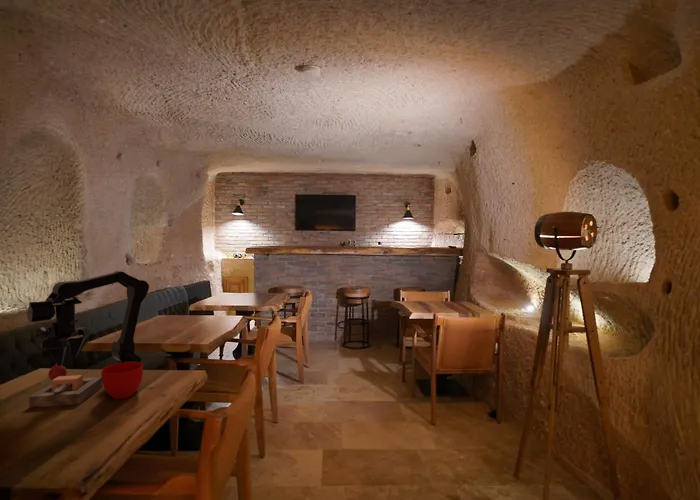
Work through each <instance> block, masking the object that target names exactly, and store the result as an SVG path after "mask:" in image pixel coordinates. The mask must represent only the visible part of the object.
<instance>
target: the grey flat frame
mask: <svg viewBox="0 0 700 500" xmlns="http://www.w3.org/2000/svg"><path fill="white" fill-rule="evenodd" d="M102 387H103V382H102V376H98V377H83V386H82V387H81V388H79V389H78V390H77V391H72V384H71V385H70V386H68V387H67V388H65V389H64V392H59V393H58V394H54V393H53V392H52V382H51V383H50V384H47V385H46V386H45V387H43V388H41V389H39V390H38V391H36V392H35V393H33V394H31V395H29V396H28V404H29V407H28V408H41V407H42V408H44V407H45V408H46V407H58V406H72V405H75V406H76V405H81V404H82V403H83V402H84V401H86V400H87V399H88V398H89V397H91V396H92V395H93V394H95V393H96V392H98V391H99V390H100V389H101V388H102Z"/></svg>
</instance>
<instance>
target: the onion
mask: <svg viewBox="0 0 700 500" xmlns="http://www.w3.org/2000/svg"><path fill="white" fill-rule="evenodd" d="M58 376H68V370H67V368H66V367H65V366H64V365H63V364H62V365H61V366H57V363H56V362H55V365H53V366H52V367H51V368H50V369H49V370H48V376H47V377H48V379H49V380H50V381H52V380H53V379H55V378H57V377H58Z"/></svg>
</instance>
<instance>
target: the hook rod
mask: <svg viewBox="0 0 700 500" xmlns="http://www.w3.org/2000/svg"><path fill="white" fill-rule="evenodd" d="M70 385H71V384H63V385H61V386H60V387H58V388H57V389H55V390H54V391H53V393H54V394H58V393H59V392H61V391H62V390H64V389H65V388H67V387H68V386H70Z"/></svg>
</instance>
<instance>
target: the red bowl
mask: <svg viewBox="0 0 700 500" xmlns="http://www.w3.org/2000/svg"><path fill="white" fill-rule="evenodd" d="M100 372H101V373H100V377H102V387H103V388H104V390H105V391H106V393H107V394H108V395H109V396H111V397H112V398H113V399H115V400H116V399H117V400H120V399H126V398H129V397H132V396H133V395H134V394H135V392H137V390H138V389H139V387H140V385H141V383H142V381H143V380H142V379H143V374H144V364H143V363H142V362H123V363H118V362H117V363H114V364H110V365H107V366H105V367H103V368H102V369H100Z"/></svg>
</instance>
